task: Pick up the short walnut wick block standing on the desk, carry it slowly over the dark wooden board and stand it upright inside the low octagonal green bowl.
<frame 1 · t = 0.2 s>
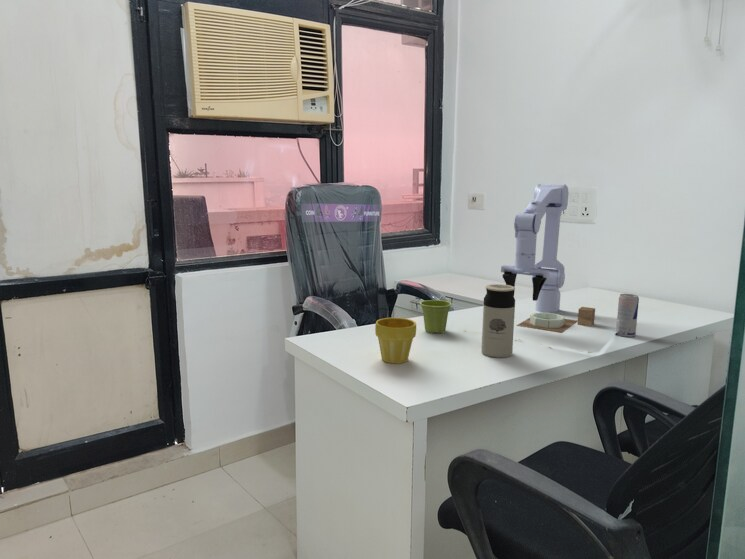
hand: (523, 298, 167), 10 cm above the table, tool pointing down, fingers open, 7 cm apart
energy drink: (625, 335, 164), on the table
plant pot 2: (434, 331, 167), on the table
wick block: (585, 327, 173), on the table
travel mug: (496, 354, 146), on the table
plant pot: (395, 360, 140), on the table
walnut board: (547, 326, 174), on the table
octagonal green bowl: (546, 323, 173), resting on walnut board
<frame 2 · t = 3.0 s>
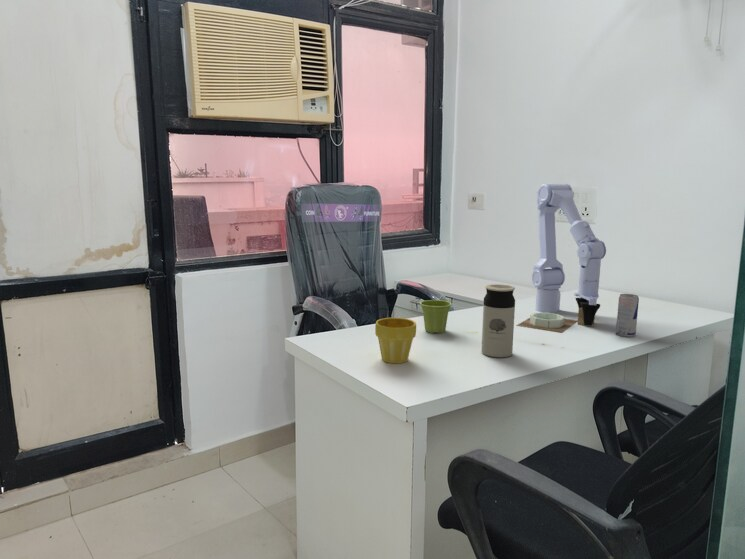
hand: (585, 322, 172), 1 cm above the table, tool pointing down, fingers closed on wick block, 5 cm apart
wick block: (585, 327, 173), on the table, touching gripper
everything else where it was.
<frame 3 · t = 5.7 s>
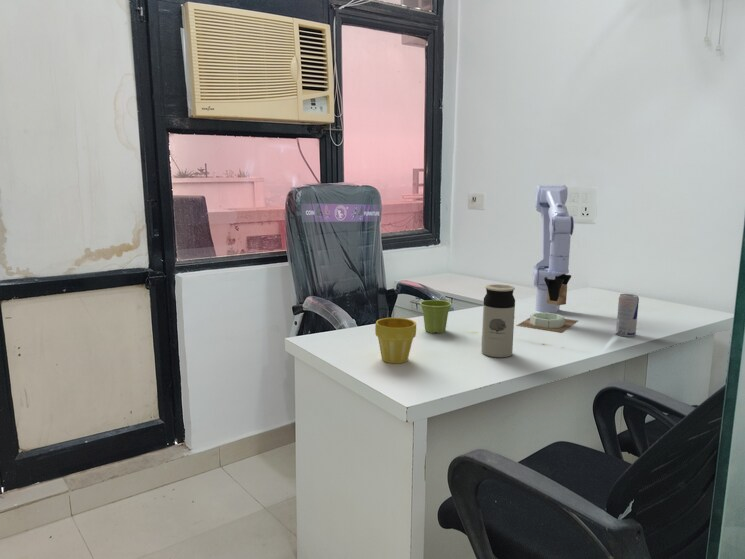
hand: (556, 299, 171), 9 cm above the table, tool pointing down, fingers closed on wick block, 5 cm apart
wick block: (556, 303, 171), point 7 cm above the table, touching gripper
everything else where it was.
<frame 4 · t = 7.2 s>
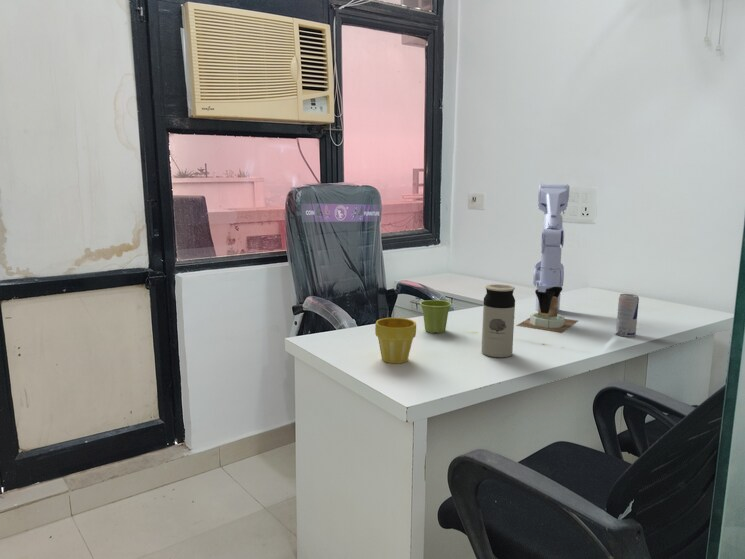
hand: (547, 311, 172), 5 cm above the table, tool pointing down, fingers closed on wick block, 5 cm apart
wick block: (547, 315, 172), point 4 cm above the table, touching gripper
everything else where it was.
when the fingers open (4 cm above the table, at t = 8.4 s): wick block stays where it is, resting on octagonal green bowl.
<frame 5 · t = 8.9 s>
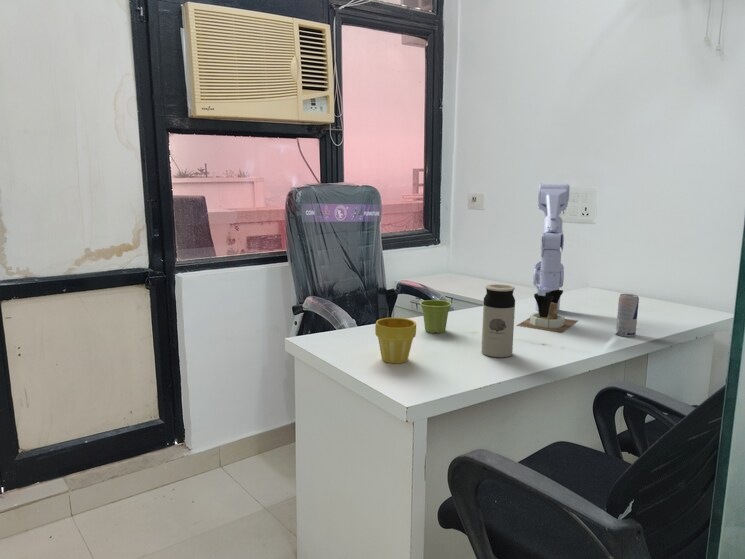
hand: (547, 314, 172), 4 cm above the table, tool pointing down, fingers open, 7 cm apart
wick block: (547, 321, 172), point 2 cm above the table, touching octagonal green bowl
everything else where it was.
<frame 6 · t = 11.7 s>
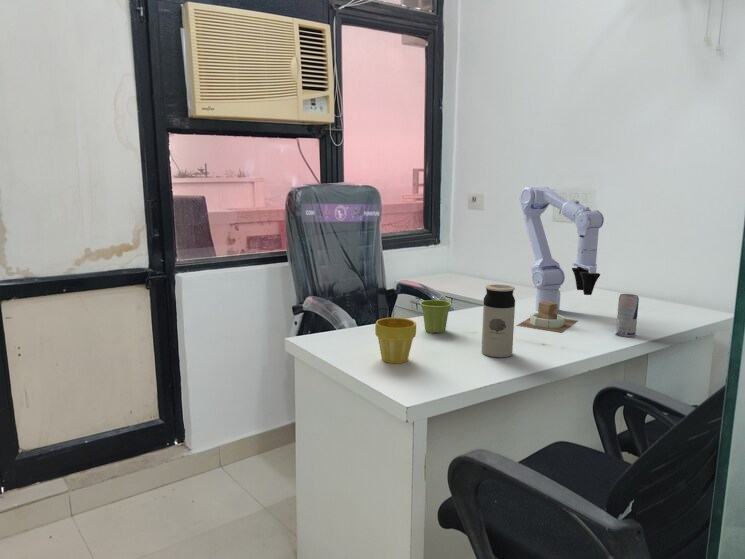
hand: (584, 292, 174), 10 cm above the table, tool pointing down, fingers open, 7 cm apart
nothing on the table moved.
at the end: wick block 0.0 cm off-centre on the octagonal green bowl, point 0.6 cm above the octagonal green bowl's base; wick block tilted 0°; the gripper is holding nothing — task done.
